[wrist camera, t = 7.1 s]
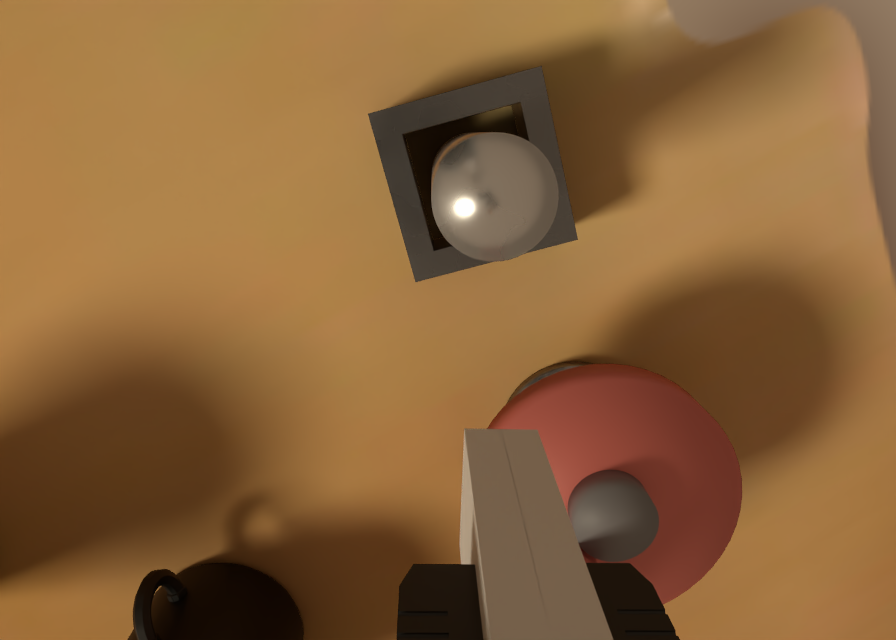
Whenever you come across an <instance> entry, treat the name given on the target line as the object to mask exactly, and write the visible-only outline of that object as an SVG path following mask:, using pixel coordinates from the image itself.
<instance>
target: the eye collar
mask: <svg viewBox="0 0 896 640" xmlns="http://www.w3.org/2000/svg"><path fill="white" fill-rule="evenodd" d="M509 105H512V110H513V114H514V118H515V123H516V127H517V132H518V136H519V137H521V138H523V139H525V140H527V141H529V142H530V143H532V144H533V145H535V146H536V147H537V148H538V149H539V150H540V151H541V152H542V153H543V154H544V155H545V157H546V158H547V159H548V161H549V163H550V164H551V166H552V168H553V170H554V173H555V176H556V179H557V183H558V190H559V200H558V208H557V212H556V216H555V218H554V221H553V223H552V225H551V227H550V229H549V231H548V232H547V234H546V235H545V236H544V238H543V239H542V240H541V241H540V242H539V243H538V244H537V245H536V246H535V247H533V248H532V249H531V250H529V251H528V252H532V251H536V250H540V249H544V248H547V247H551V246H555V245H559V244H563V243H566V242H570V241H574V240H578V238H577V233H576V229H575V224H574V219H573V214H572V210H571V205H570V200H569V195H568V191H567V186H566V181H565V176H564V171H563V167H562V162H561V157H560V152H559V148H558V143H557V138H556V133H555V128H554V124H553V119H552V114H551V109H550V105H549V100H548V95H547V90H546V85H545V81H544V76H543V71H542V66H540V67H536V68H532V69H529V70H525V71H522V72H518V73H514V74H511V75H507V76H503V77H500V78H496V79H493V80H489V81H485V82H482V83H478V84H474V85H471V86H467V87H464V88H460V89H456V90H453V91H449V92H445V93H442V94H438V95H435V96H431V97H427V98H424V99H420V100H416V101H413V102H409V103H406V104H402V105H398V106H395V107H391V108H388V109H384V110H380V111H377V112H373V113H369V114H368V115H369V119H370V123H371V126H372V130H373V133H374V137H375V140H376V144H377V147H378V151H379V154H380V158H381V161H382V165H383V169H384V172H385V176H386V179H387V183H388V186H389V190H390V193H391V197H392V200H393V204H394V207H395V211H396V215H397V218H398V222H399V225H400V229H401V232H402V236H403V239H404V243H405V246H406V250H407V253H408V257H409V260H410V264H411V268H412V271H413V275H414V278H415V282H418V281H422V280H425V279H429V278H433V277H437V276H441V275H445V274H448V273H452V272H456V271H460V270H464V269H467V268H471V267H475V266H479V265H483V264H486V263H490V262H493V261H483V260H478V259H475V258H472V257H469V256H467V255H465V254H463V253H461V252H460V251H458V250H457V249H456V248H454V247H453V246H452V245H451V244H450V243H449V242H448V241H447V240H446V239H445V237H441V238H437V239H433V236H432V232H431V228H430V225H429V221H428V217H427V214H426V210H425V206H424V202H423V199H422V195H421V191H420V188H419V184H418V180H417V177H416V173H415V169H414V165H413V162H412V158H411V154H410V151H409V147H408V143H407V140H406V136H405V134H407V133H411V132H414V131H418V130H422V129H425V128H429V127H433V126H436V125H440V124H444V123H447V122H451V121H455V120H458V119H462V118H466V117H469V116H473V115H476V114H480V113H484V112H487V111H491V110H495V109H498V108H502V107H506V106H509ZM528 252H526V253H528Z"/></svg>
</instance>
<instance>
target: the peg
mask: <svg viewBox="0 0 896 640" xmlns="http://www.w3.org/2000/svg"><path fill="white" fill-rule="evenodd" d="M558 200H559V190H558V183H557V179H556V176H555V173H554V170H553V168H552V166H551V164H550V163H549V161H548V159H547V158H546V157H545V155H544V154H543V153H542V152H541V151H540V150H539V149H538V148H537V147H536V146H535V145H533V144H532V143H530V142H529V141H527V140H525V139H523V138H521V137H519V136H516V135H513V134H508V133H500V132H472V133H463V134H460V135H457V136H455V137H453V138H451V139H450V140H448V141H447V142H446V143H445V144H444V145H443V146H442V147H441V148H440V149H439V151H438V152H437V154H436V156H435V158H434V162H433V166H432V181H431V203H432V210H433V215H434V218H435V221H436V224H437V226H438V228H439V230H440V231H441V233H442V235H443V236H444V237H445V239H446V240H447V241H448V242H449V243H450V244H451V245H452V246H453V247H454V248H456V249H457V250H458V251H460V252H461V253H463V254H465V255H467V256H469V257H472V258H475V259H478V260H483V261H493V262H494V261H504V260H509V259H513V258H516V257H518V256H520V255H522V254H524V253H526V252H528V251H529V250H531V249H532V248H533V247H535V246H536V245H537V244H538V243H539V242H540V241H541V240H542V239H543V238H544V236H545V235H546V234H547V232H548V231H549V229H550V227H551V225H552V223H553V221H554V218H555V216H556V212H557V208H558Z"/></svg>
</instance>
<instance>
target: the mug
mask: <svg viewBox="0 0 896 640" xmlns="http://www.w3.org/2000/svg"><path fill="white" fill-rule="evenodd" d="M159 586H162V587H161V588H160V589H159V590H158V591H157V592H156V593H155V591H156V590H157V588H158V587H159ZM154 594H155V595H154ZM153 596H154V597H153ZM133 624H134V630H133V631H132V633H131V635H130V636H129V638H128V640H303V635H304V632H303V624H302V620H301V617H300V614H299V611H298V608H297V606H296V605H295V603H294V601H293V599H292V598H291V597H290V595H289V594H288V593H287V591H286V590H285V589H284V588H283V587H282V586H281V585H279V584H278V583H277V582H276V581H274V580H273V579H272V578H270V577H269V576H267V575H265V574H263V573H261V572H259V571H257V570H254V569H252V568H249V567H246V566H241V565H237V564H229V563H212V564H205V565H200V566H196V567H193V568H190V569H188V570H185V571H183V572H182V573H180V574H178V575H175V574H174V573H173V572H171V571H170V570H167V569H161V570H154V571H151V572H150V573H149V574H148V575H147V576H146V577H145V578H144V579H143V580H142V582H141V584H140V587H139V589H138V591H137V594H136V596H135V601H134V607H133Z"/></svg>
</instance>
